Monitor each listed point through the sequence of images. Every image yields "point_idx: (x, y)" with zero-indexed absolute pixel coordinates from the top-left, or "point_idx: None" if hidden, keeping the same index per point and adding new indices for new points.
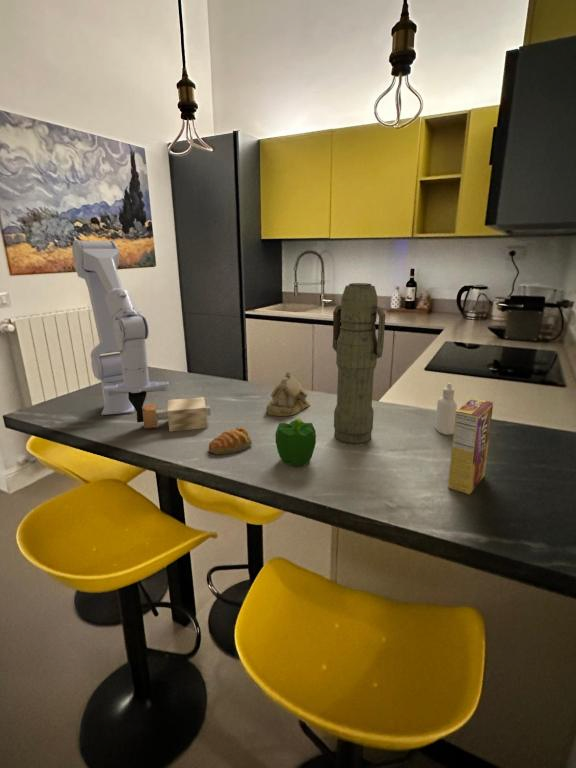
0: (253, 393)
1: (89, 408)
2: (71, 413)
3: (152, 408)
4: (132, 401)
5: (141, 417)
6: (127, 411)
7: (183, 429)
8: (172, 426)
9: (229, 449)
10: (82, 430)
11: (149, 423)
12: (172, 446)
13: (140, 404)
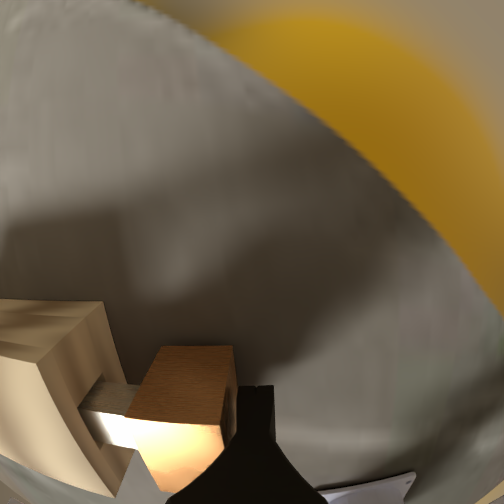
0: (6, 468)
1: (432, 494)
2: (477, 464)
3: (154, 442)
4: (296, 495)
5: (242, 402)
6: (330, 493)
7: (48, 302)
8: (76, 312)
9: None
10: (489, 365)
11: (195, 360)
12: (67, 113)
13: (226, 472)
